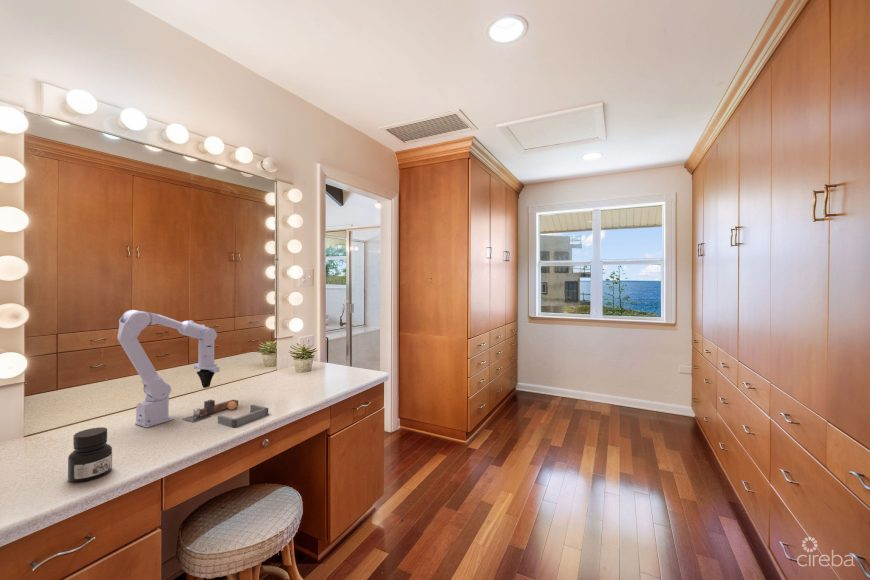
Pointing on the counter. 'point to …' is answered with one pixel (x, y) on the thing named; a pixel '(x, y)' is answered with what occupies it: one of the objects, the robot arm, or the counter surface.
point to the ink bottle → (89, 455)
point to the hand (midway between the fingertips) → (206, 387)
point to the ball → (232, 405)
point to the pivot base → (196, 416)
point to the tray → (244, 417)
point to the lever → (214, 406)
